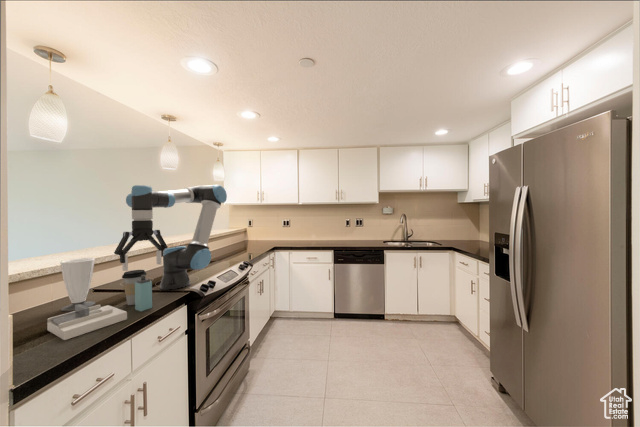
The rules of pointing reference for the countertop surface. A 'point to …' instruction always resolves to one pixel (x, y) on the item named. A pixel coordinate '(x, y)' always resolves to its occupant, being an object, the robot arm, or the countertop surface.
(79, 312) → the shutter
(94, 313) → the socket plate
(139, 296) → the teal bottle
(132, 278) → the coffee cup
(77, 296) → the cup
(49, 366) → the countertop surface
